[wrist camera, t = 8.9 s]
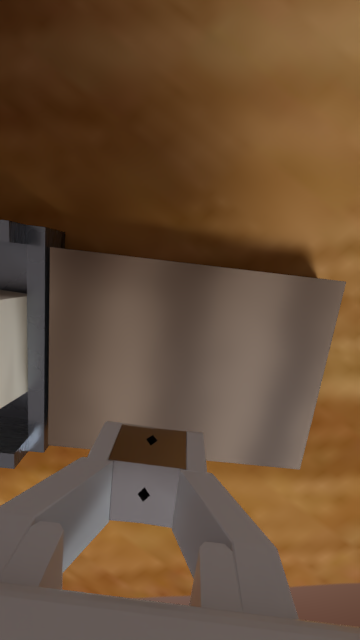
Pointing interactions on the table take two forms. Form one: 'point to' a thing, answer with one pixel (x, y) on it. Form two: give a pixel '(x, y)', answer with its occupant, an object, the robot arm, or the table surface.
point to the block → (13, 346)
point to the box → (28, 335)
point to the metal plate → (187, 353)
